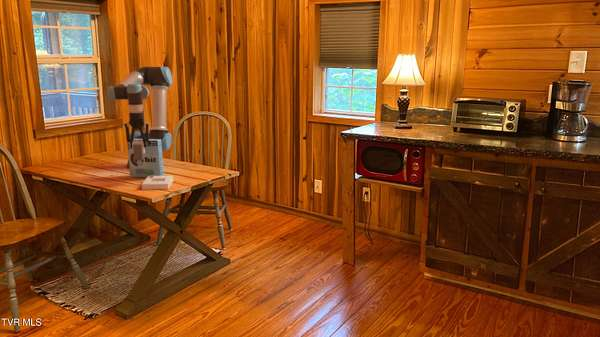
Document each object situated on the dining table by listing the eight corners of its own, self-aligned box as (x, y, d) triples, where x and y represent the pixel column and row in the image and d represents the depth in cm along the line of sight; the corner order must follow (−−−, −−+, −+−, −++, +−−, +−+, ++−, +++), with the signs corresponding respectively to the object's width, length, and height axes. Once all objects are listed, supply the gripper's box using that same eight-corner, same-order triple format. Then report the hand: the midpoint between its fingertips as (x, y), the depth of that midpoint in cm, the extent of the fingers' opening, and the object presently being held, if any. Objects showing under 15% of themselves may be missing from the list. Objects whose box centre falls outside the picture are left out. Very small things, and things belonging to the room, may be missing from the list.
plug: (136, 158, 279) (134, 141, 277) (144, 158, 279) (143, 141, 277) (134, 160, 274) (132, 142, 272) (142, 160, 275) (141, 142, 273)
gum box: (163, 176, 293) (161, 138, 288) (160, 178, 288) (157, 140, 283) (133, 175, 296) (130, 137, 291) (129, 177, 291) (126, 139, 286)
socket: (148, 181, 283) (148, 174, 282) (173, 180, 284) (172, 174, 283) (141, 189, 265) (141, 183, 264) (168, 189, 267) (167, 182, 266)
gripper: (117, 112, 267) (121, 154, 272) (150, 112, 268) (153, 154, 273) (121, 111, 274) (124, 152, 279) (153, 111, 275) (156, 151, 281)
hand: (138, 153), depth 276 cm, fingers closed on plug, 4 cm apart
